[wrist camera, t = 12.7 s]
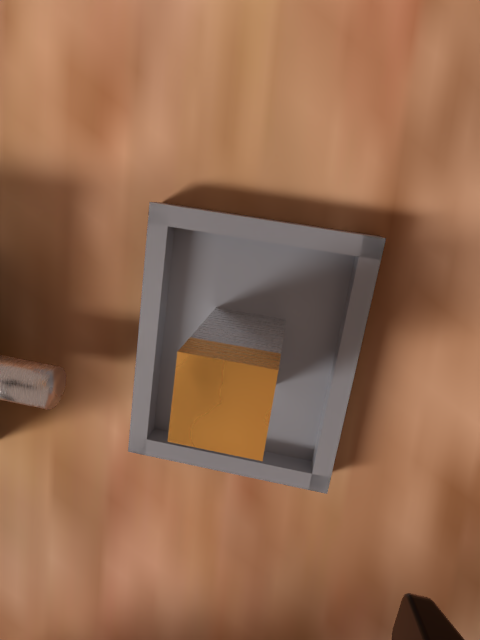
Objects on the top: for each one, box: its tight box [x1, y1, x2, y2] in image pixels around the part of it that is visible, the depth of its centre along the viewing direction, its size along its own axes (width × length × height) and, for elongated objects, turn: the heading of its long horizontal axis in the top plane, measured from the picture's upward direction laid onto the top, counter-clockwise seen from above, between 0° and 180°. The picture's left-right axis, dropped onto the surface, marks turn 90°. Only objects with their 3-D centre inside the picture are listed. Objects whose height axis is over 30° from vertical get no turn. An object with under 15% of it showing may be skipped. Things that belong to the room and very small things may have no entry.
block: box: [167, 307, 286, 461], centre depth 16 cm, size 3×3×6 cm
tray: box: [128, 202, 386, 494], centre depth 19 cm, size 11×9×1 cm
